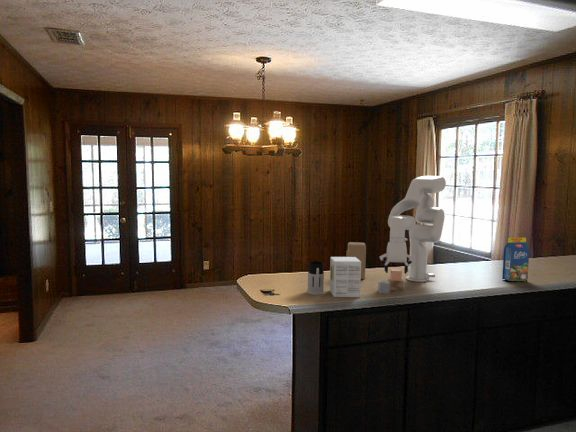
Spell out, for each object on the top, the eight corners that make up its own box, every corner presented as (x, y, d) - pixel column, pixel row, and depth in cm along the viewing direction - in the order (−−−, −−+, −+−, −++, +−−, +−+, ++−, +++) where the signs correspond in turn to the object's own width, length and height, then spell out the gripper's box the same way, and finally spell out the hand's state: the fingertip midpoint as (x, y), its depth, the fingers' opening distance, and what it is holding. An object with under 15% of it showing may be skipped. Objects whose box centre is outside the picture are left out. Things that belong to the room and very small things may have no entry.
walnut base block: (401, 287, 238) (401, 278, 237) (403, 290, 231) (403, 281, 230) (387, 287, 238) (387, 277, 238) (389, 290, 231) (389, 280, 231)
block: (363, 276, 264) (364, 242, 263) (365, 279, 254) (366, 244, 253) (346, 275, 265) (347, 241, 264) (347, 279, 255) (348, 244, 254)
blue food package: (527, 281, 256) (530, 238, 255) (509, 282, 254) (512, 238, 252) (519, 279, 263) (522, 236, 261) (501, 280, 260) (504, 237, 258)
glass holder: (323, 290, 228) (323, 261, 227) (326, 297, 214) (327, 266, 213) (306, 290, 228) (306, 260, 227) (308, 297, 214) (308, 266, 213)
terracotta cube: (400, 278, 236) (400, 269, 236) (401, 280, 231) (401, 271, 231) (390, 278, 237) (390, 269, 236) (391, 280, 232) (391, 270, 231)
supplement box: (329, 290, 228) (329, 256, 227) (354, 290, 229) (355, 256, 227) (333, 297, 215) (334, 261, 213) (360, 297, 216) (361, 261, 214)
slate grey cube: (388, 291, 229) (388, 281, 229) (389, 293, 224) (389, 283, 224) (378, 290, 230) (378, 281, 229) (379, 293, 225) (379, 283, 224)
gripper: (412, 239, 235) (411, 272, 237) (379, 238, 237) (378, 270, 238) (415, 241, 228) (414, 275, 229) (381, 240, 229) (380, 273, 231)
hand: (396, 272), depth 234 cm, fingers open, 9 cm apart
